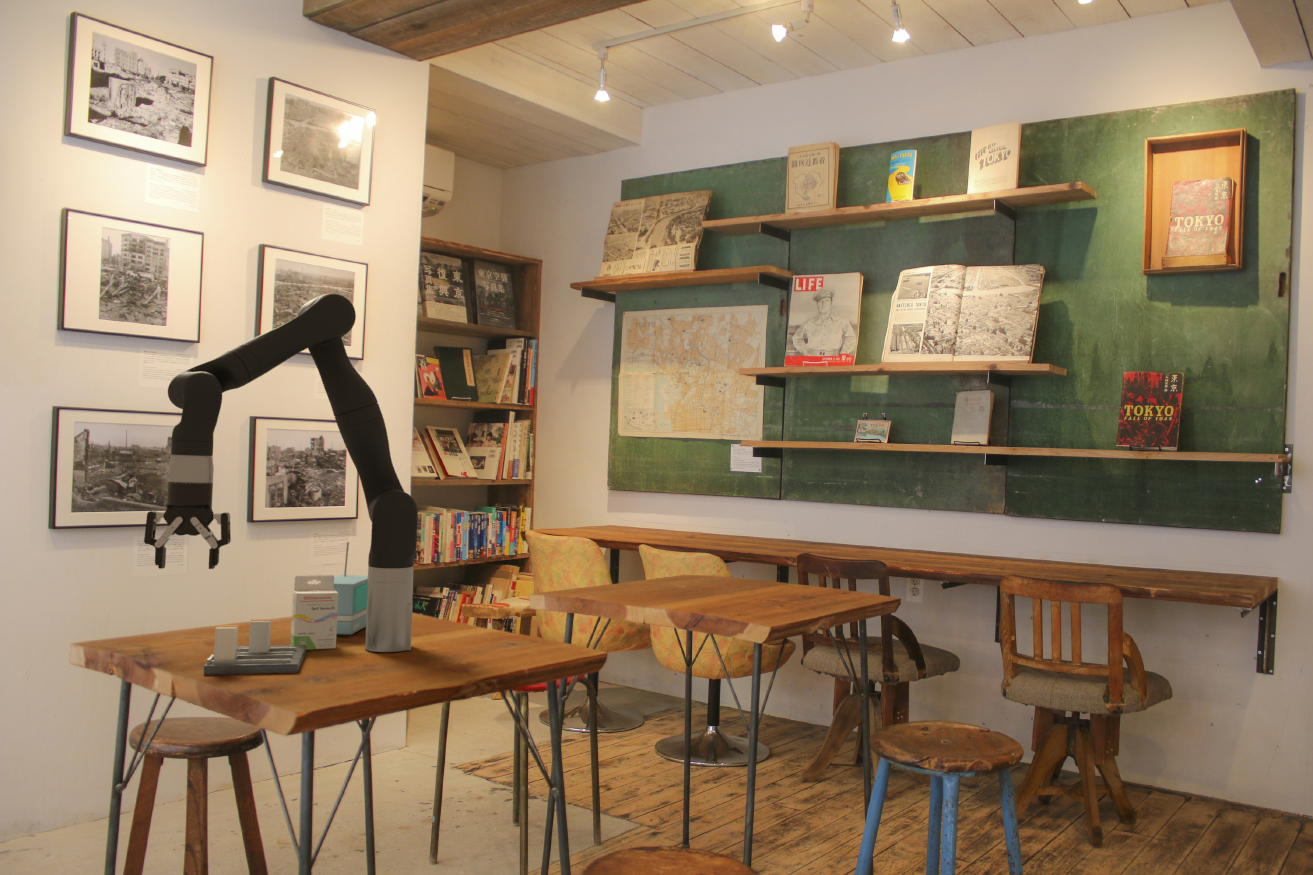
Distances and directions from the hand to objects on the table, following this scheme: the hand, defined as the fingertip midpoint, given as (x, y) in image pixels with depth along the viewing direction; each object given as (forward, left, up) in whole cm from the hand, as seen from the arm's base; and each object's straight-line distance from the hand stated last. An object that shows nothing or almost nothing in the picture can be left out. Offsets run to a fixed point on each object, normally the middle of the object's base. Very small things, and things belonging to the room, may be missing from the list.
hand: (186, 568), depth 185 cm
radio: (-27, -39, -19) cm, 51 cm away
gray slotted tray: (-12, -5, -19) cm, 23 cm away
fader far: (-12, -6, -17) cm, 22 cm away
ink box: (-21, -20, -19) cm, 35 cm away
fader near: (-7, +1, -17) cm, 18 cm away
